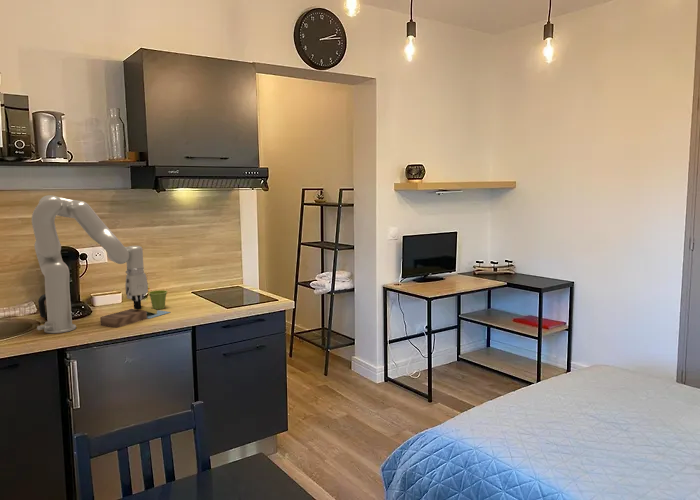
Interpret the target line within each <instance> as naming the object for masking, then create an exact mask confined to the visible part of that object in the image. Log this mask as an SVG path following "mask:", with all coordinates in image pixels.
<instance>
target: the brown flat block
mask: <svg viewBox="0 0 700 500" xmlns="http://www.w3.org/2000/svg"><path fill="white" fill-rule="evenodd" d="M99 320H100V326H103V327H108V328H112V329H113V328H115V329H117V328H120V327H125V326H127V325H130V324H135V323H137V322H138V323H139V322H142V321H145V320H148V319H147V311H144V310H137V309H134V308H129V309H126V310H121V311H117V312H114V313H111V314H106V315H101V316H100V319H99Z"/></svg>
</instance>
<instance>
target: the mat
mask: <svg viewBox="0 0 700 500" xmlns="http://www.w3.org/2000/svg"><path fill="white" fill-rule="evenodd" d="M156 310H157V314H152V313H147V319H146V320H151V319H153V318H157V317H160V316H163V315H167V314H171V311H165V310H161V309H156Z"/></svg>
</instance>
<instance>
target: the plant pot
mask: <svg viewBox="0 0 700 500" xmlns="http://www.w3.org/2000/svg"><path fill="white" fill-rule="evenodd" d="M167 293H168V290H164V289H163V290H161V289H159V290H152V291H148V292H147V295H149V297H150V303H151V307H152V309H155V310H162V309H165V307H166V299H167V298H166V297H167Z"/></svg>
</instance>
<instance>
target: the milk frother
mask: <svg viewBox="0 0 700 500" xmlns="http://www.w3.org/2000/svg"><path fill="white" fill-rule="evenodd" d="M37 301H38V302H37V303H38V308H39V316H40V317H41V318H43V319H44V318H46V316H47V311H46V305H45V302H46V295H45V294H42V295H41V296H39V298H38V300H37Z"/></svg>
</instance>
